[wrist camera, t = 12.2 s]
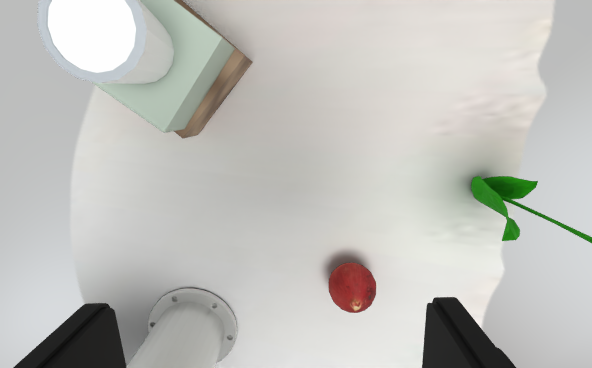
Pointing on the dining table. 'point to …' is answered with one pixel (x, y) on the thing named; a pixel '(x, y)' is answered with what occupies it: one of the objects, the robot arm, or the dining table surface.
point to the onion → (352, 287)
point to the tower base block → (215, 85)
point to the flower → (510, 201)
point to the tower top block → (176, 70)
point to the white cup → (106, 40)
